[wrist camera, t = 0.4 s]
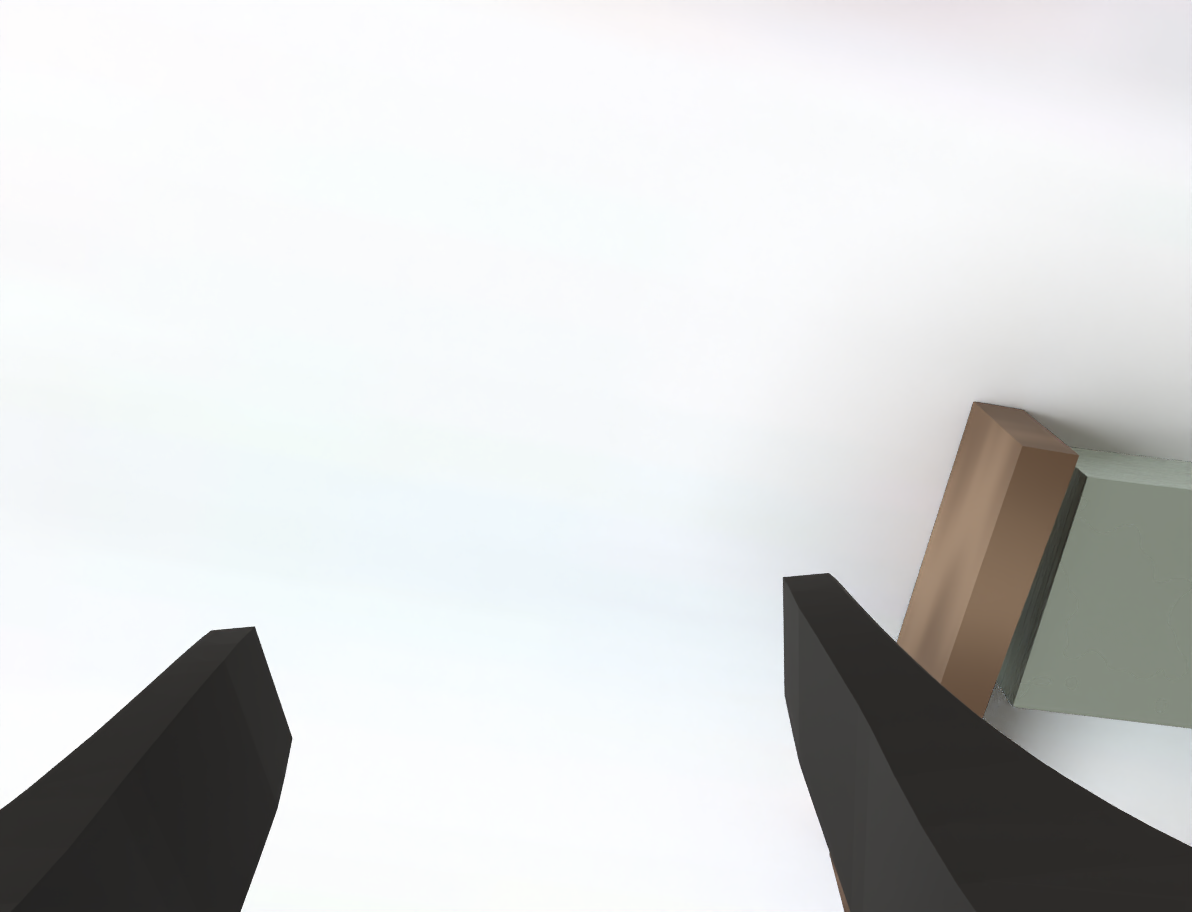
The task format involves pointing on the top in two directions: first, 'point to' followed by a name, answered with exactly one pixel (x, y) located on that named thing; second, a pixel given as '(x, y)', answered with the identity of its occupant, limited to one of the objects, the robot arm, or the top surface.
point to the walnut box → (984, 551)
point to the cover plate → (1111, 597)
